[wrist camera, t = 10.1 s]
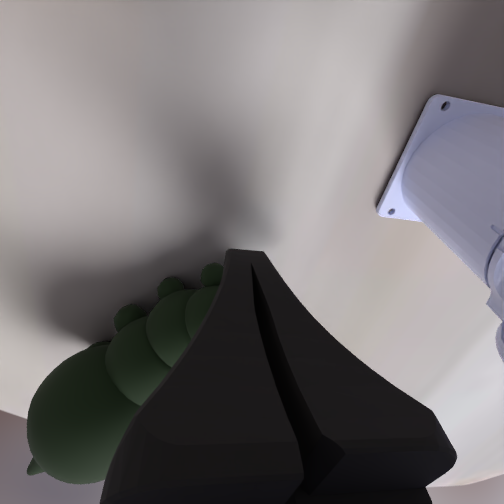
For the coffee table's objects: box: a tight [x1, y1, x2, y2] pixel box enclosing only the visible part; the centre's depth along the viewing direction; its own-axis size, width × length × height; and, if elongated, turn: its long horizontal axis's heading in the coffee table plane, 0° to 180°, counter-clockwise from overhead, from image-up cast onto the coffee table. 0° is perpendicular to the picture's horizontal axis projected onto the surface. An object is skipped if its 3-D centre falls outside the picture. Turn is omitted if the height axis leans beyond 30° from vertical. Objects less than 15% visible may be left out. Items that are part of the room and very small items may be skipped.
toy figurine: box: [27, 263, 224, 484], centre depth 20 cm, size 9×19×25 cm
